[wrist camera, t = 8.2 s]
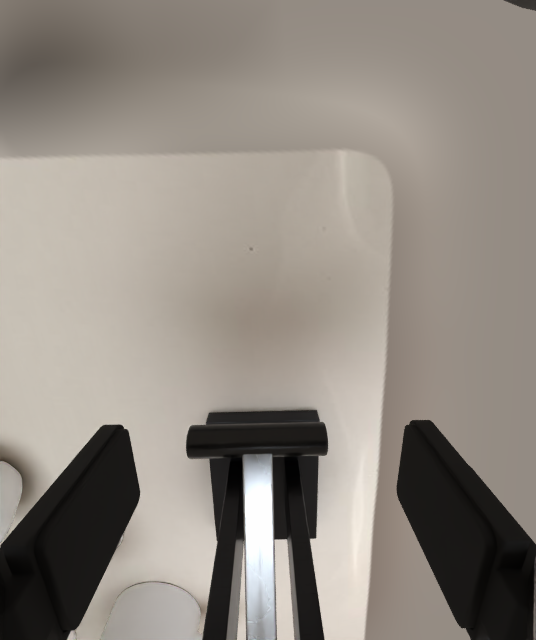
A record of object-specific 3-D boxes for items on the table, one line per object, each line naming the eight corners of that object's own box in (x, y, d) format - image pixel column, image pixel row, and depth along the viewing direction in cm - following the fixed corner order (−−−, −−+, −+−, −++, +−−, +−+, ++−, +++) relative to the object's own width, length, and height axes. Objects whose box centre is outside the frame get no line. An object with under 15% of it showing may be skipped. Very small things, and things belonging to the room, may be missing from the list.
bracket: (209, 412, 22) (105, 735, 8) (316, 410, 22) (410, 727, 8) (219, 527, 25) (158, 911, 11) (313, 524, 25) (378, 905, 11)
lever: (196, 417, 13) (180, 437, 10) (319, 413, 13) (331, 433, 10) (202, 737, 12) (185, 837, 10) (328, 734, 12) (343, 832, 10)
